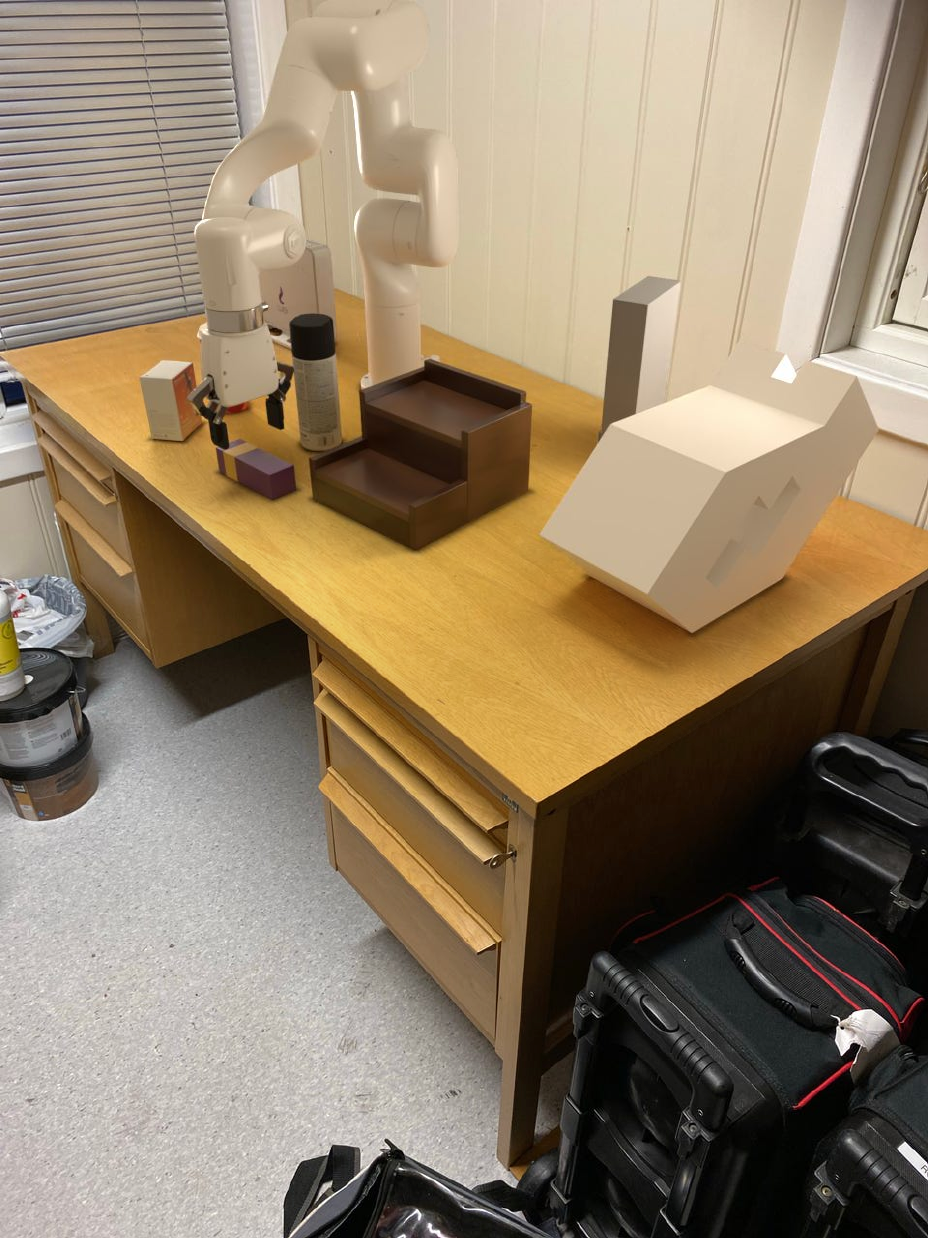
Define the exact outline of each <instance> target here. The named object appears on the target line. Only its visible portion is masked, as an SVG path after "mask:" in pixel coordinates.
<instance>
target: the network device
mask: <svg viewBox="0 0 928 1238" xmlns="http://www.w3.org/2000/svg"><path fill="white" fill-rule="evenodd" d="M331 252H332V251H331V249H330V247H329V245H327V244H325V243H322V242H318V241H315V240H312V239H309V238H307V237H306V247H305V250H304V253H303V255H302V257H301V258H300V259H299V260H298V261H297V262H296V263H295V264H294V265H292V266H291V267H288V268H285V269H281V270H273V271H265V272H261V273H260V274H259V284H260V293H261V301H262V302H263V301H265V302H266V303H267V304H268V311H265V312H264V313H263V318H264V319H263V321H264V322H265V323H266V324H267V326H268V329H269V330H271V329H274V328H277V329H278V330H280V331H282V332H281V334H280V335H273V334H270V335H271V338H272V342H273V343H276V344H278V345H281V346H283V347H284V348H287V349H289V350H291V339H290V328H289V323H290V321H292V319H293V318H295V317H297V316H299V315H301V314H311V313H314V314H324V315H327V316H329V317H331V318H332V319H333V327H334V339H335V342H336V341H337V339H338V326H337V316H336V315H337V313H336V312H337V311H336V302H335V300H336V299H335V289H334V274H333V263H332V261H333V260H332V253H331Z"/></svg>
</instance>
